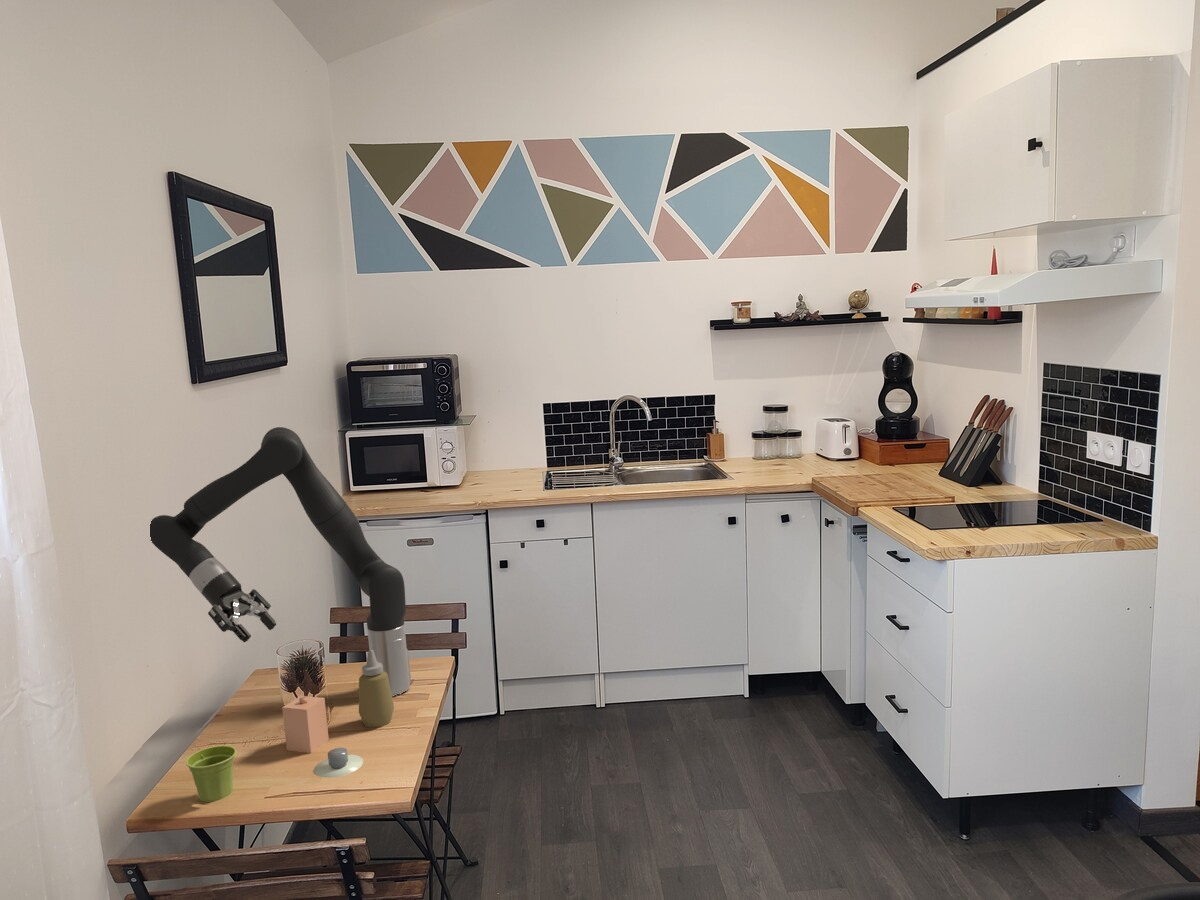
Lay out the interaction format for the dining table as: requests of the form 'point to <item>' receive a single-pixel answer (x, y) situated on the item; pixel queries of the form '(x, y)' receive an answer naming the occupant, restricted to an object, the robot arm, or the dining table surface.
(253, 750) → the dining table surface
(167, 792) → the dining table surface
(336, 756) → the grey rounded cylinder
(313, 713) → the peach rectangular block
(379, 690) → the squeeze bottle
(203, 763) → the plant pot
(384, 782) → the dining table surface
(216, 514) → the robot arm
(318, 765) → the plate
